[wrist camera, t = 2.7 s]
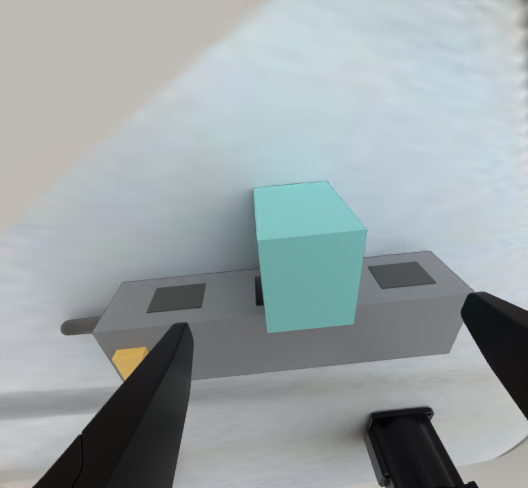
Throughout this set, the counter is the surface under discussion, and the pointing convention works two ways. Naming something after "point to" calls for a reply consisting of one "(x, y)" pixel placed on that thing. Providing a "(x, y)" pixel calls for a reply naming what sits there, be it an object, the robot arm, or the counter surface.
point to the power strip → (288, 342)
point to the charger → (308, 256)
